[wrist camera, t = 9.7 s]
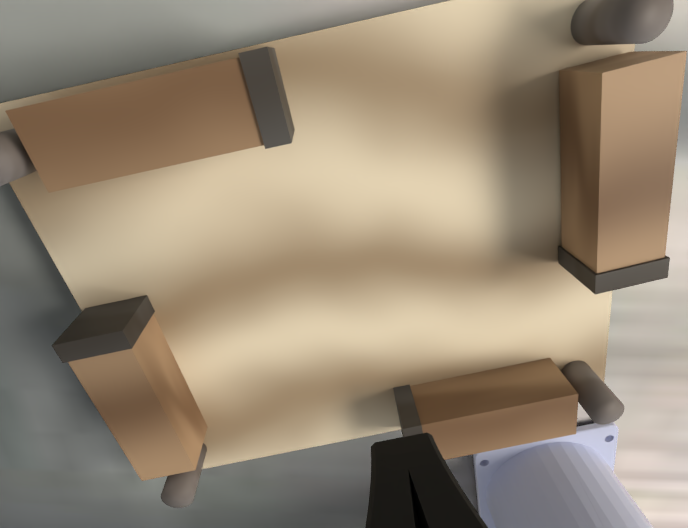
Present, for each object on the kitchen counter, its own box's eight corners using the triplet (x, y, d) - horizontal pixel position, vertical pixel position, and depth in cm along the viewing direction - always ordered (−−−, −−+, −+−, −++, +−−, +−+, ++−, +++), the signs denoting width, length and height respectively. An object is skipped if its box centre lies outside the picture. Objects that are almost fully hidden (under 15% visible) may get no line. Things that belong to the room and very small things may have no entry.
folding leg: (554, 71, 15) (601, 74, 12) (631, 50, 14) (693, 50, 12) (558, 263, 18) (595, 294, 16) (620, 248, 18) (667, 277, 15)
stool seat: (589, 373, 22) (639, 430, 19) (180, 454, 23) (157, 524, 20) (618, -37, 14) (712, -65, 11) (-8, 106, 15) (-101, 121, 12)
